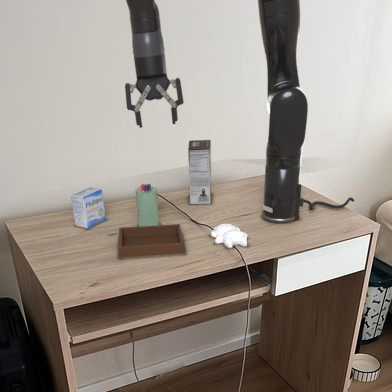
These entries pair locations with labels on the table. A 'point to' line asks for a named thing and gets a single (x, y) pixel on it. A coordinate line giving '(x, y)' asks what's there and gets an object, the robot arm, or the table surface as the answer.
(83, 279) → the table surface
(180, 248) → the tray
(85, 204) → the medicine box
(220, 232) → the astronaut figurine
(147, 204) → the pen pot
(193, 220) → the table surface
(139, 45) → the robot arm
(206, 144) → the coffee box
